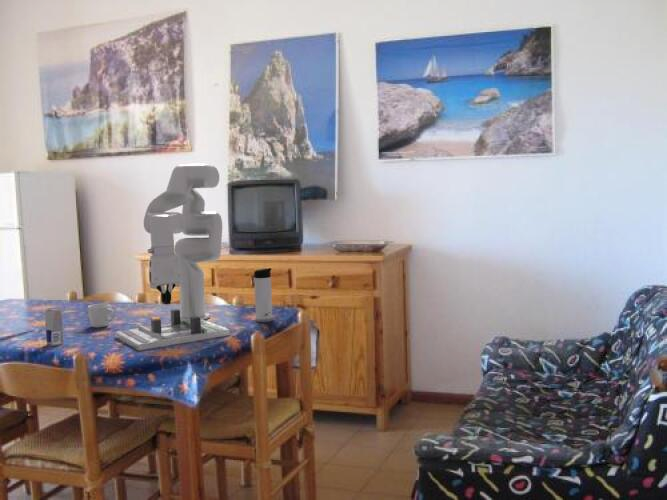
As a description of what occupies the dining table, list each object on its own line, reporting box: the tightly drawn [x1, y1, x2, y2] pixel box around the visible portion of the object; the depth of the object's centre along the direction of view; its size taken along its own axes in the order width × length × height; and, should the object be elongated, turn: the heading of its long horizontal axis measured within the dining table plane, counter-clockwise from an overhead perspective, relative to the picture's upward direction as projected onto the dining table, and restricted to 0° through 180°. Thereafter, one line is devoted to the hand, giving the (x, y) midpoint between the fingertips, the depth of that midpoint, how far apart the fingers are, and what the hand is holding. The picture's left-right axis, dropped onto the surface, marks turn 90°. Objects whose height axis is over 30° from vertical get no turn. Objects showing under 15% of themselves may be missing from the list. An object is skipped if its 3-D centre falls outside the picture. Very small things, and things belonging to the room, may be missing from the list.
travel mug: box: [253, 267, 273, 323], centre depth 256 cm, size 6×7×20 cm
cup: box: [87, 303, 116, 328], centre depth 255 cm, size 11×8×8 cm
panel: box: [114, 308, 230, 351], centre depth 235 cm, size 24×32×7 cm
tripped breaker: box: [150, 316, 162, 333], centre depth 232 cm, size 3×2×5 cm
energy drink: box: [44, 307, 65, 347], centre depth 228 cm, size 5×5×12 cm
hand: (166, 303), depth 234 cm, fingers closed
